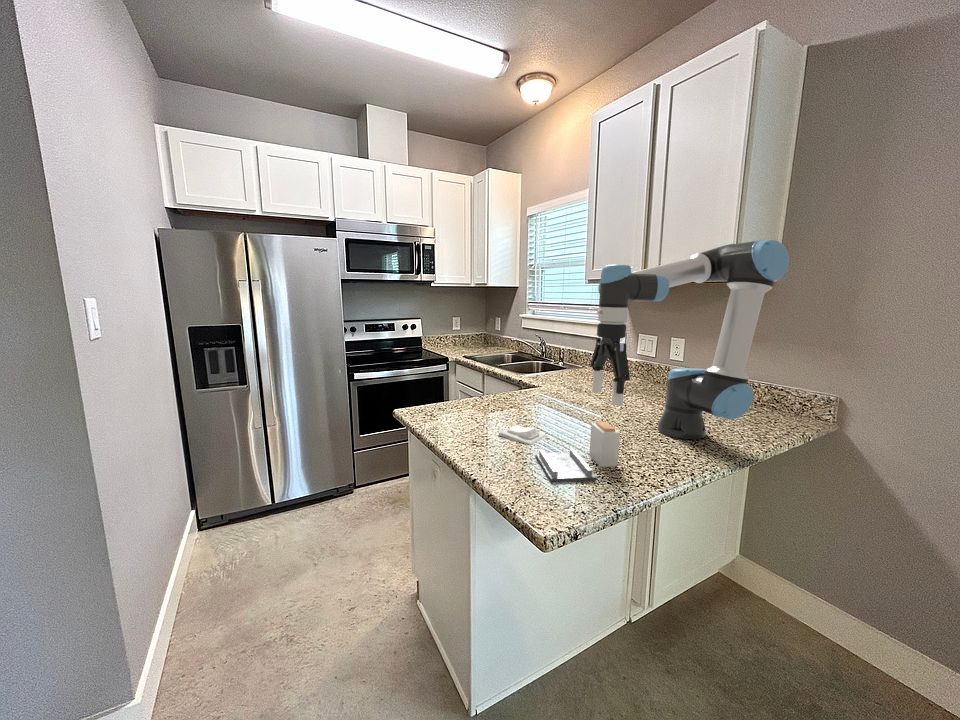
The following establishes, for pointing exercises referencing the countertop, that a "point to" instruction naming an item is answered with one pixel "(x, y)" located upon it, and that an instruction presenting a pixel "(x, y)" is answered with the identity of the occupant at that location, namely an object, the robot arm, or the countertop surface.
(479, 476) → the countertop surface
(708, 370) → the robot arm
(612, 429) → the block
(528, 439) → the light switch
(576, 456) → the rail
